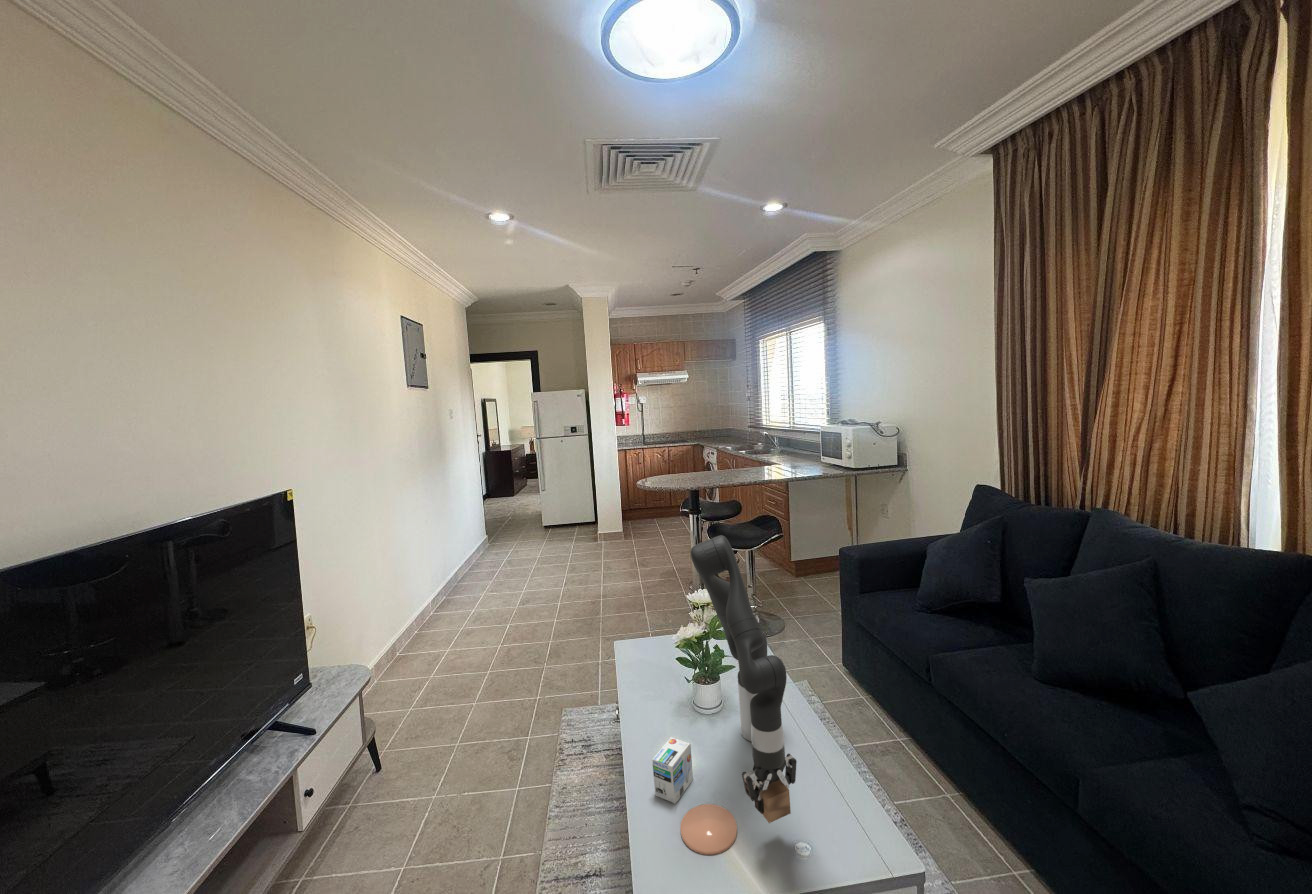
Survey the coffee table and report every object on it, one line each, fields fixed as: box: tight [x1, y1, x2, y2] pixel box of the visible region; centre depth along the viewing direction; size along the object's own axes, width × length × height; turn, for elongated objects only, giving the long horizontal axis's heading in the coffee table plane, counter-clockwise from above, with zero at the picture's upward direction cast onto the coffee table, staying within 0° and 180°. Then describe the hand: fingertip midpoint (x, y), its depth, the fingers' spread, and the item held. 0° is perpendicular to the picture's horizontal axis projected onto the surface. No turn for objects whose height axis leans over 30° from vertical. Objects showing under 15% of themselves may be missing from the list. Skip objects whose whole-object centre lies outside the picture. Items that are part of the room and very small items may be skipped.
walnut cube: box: [753, 780, 792, 824], centre depth 123 cm, size 6×6×6 cm
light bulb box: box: [651, 736, 694, 804], centre depth 144 cm, size 11×7×11 cm, turn 148°
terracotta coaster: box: [679, 803, 738, 856], centre depth 129 cm, size 14×14×1 cm
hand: (772, 805), depth 123 cm, fingers closed on walnut cube, 6 cm apart
